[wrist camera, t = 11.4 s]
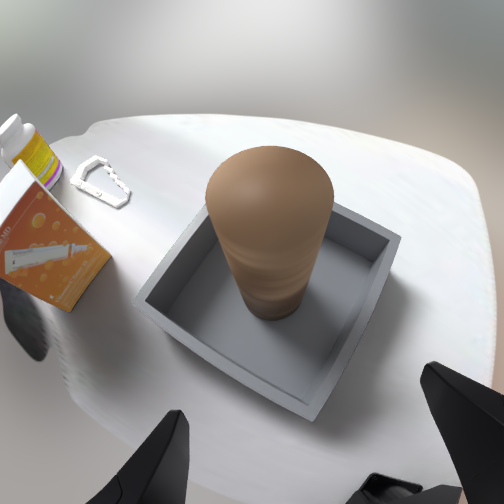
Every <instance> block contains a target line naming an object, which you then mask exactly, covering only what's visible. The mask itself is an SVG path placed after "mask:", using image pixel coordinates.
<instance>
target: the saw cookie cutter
mask: <svg viewBox="0 0 504 504" xmlns="http://www.w3.org/2000/svg"><path fill="white" fill-rule="evenodd" d="M100 163H101V164H103V165H105V166H104V169H105V171H106V172H108V173H110V177H111V178H112V179H113V180H115V182H116V184H117V185H119V186H120V187H121V188H122V189H124V192H125V193H127V197H126V198H124V199H123V200H119V199H117V198H115V197H113V196H111V195H109V194H107V193H105V192H103V191H101V190H99V189H98V188H96V187H94V186H92V185H90V184H88V183H86V182H84V179H85V177H86V174H87V172H88V171H89V170H91V169H92V168H93V167H95V166H96V165H98V164H100ZM114 173H115V172H114V170H113V169H112V168H110V167H109V163H108V161H107V160H106V159H103V158H100V157H98V156H94V157H92V158H91V159H89V160H87V161H86V162H84V163H83V164H81V165H80V166H79V167H78V169H77V172H76V174H75V175H74V176H73V177H72V178H71V181H70V182H71V184H72V185H75V186H76V187H78V188H80V189H81V190H83V191H85V192H87V193H89V194H91V195H93V196H95V197H97V198H99V199H100V200H102V201H104V202H106V203H108V204H110V205H112V206H114V207H116V208H118V207H120V206H121V205H123V204H124V203H126V202H128V199H129V195H130V189H129V188H127V187H126V186H125V185H124V184H123V183H122V181H120V180H119V178H118V176H116V175H114Z"/></svg>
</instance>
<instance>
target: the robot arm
mask: <svg viewBox="0 0 504 504" xmlns="http://www.w3.org/2000/svg"><path fill="white" fill-rule="evenodd" d="M420 384H421V386H422V389H423V392H424V395H425V397H426V400H427V403H428V406H429V409H430V411H431V414H432V416H433V418H434V420H435V423H436V425H437V427H438V429H439V431H440V433H441V436H442V438H443V440H444V442H445V445H446V447H447V449H448V452H449V454H450V456H451V459H452V461H453V464H454V466H455V469H456V471H457V474H458V476H459V479H460V482H461V484H462V487H463V490H464V493H465V496H466V499H467V502H468V504H504V395H503V394H500V393H498V392H496V391H494V390H492V389H490V388H488V387H486V386H484V385H482V384H480V383H478V382H476V381H474V380H472V379H470V378H468V377H466V376H464V375H462V374H460V373H458V372H456V371H454V370H452V369H450V368H448V367H446V366H444V365H442V364H440V363H438V362H436V361H432V362H430V363H427V364H426V365H425V366H424V369H423V372H422V375H421V378H420ZM188 471H189V423H188V421H187V419H186V417H185V415H184V413H183V412H182V411H181V410H170V411H169V412H168V413H167V414H166V416H165V417H164V418H163V419H162V420H161V422H160V423H159V424H158V425H157V426H156V428H155V429H154V430H153V431H152V433H151V434H150V435H149V436H148V437H147V439H146V440H145V441H144V442H143V443H142V445H141V446H140V447H139V448H138V449H137V450H136V452H135V453H134V454H133V455H132V457H131V458H130V459H129V460H128V461H127V462H126V463H125V465H124V466H123V467H122V468H121V469H120V470H119V472H118V473H117V475H115V476H114V477H113V478H112V479H111V481H110V482H109V483H108V484H107V485H106V486H105V487H104V488H103V489H102V490H101V491H100V492H99V493H97V495H95V496H94V497H93V498H92V499H91V500H89V501H88V502H87V503H86V504H185V498H186V489H187V480H188ZM375 476H376V478H375V479H373V480H372V478H373V477H375ZM417 488H418V490H416V489H417ZM422 489H423V487H422V486H421V485H420V484H416V483H411V482H407V481H403V480H400V479H396V478H392V477H389V476H385V475H382V474H379V473H372V474H370V475H369V476H368V478H367V479H366V480H365V482H364V483H363V484H362V486H361V487H360V488H359V490H357V491H355V493H354V494H353V495H352V496H351V498H350V499H349V500H348V501H347V502H346V504H458V502H459V499H460V496H461V492H462V488H461V487H455V486H448V485H439V486H436V487H433V488H431V489H428V490H425V491H422ZM421 491H422V492H421Z"/></svg>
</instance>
